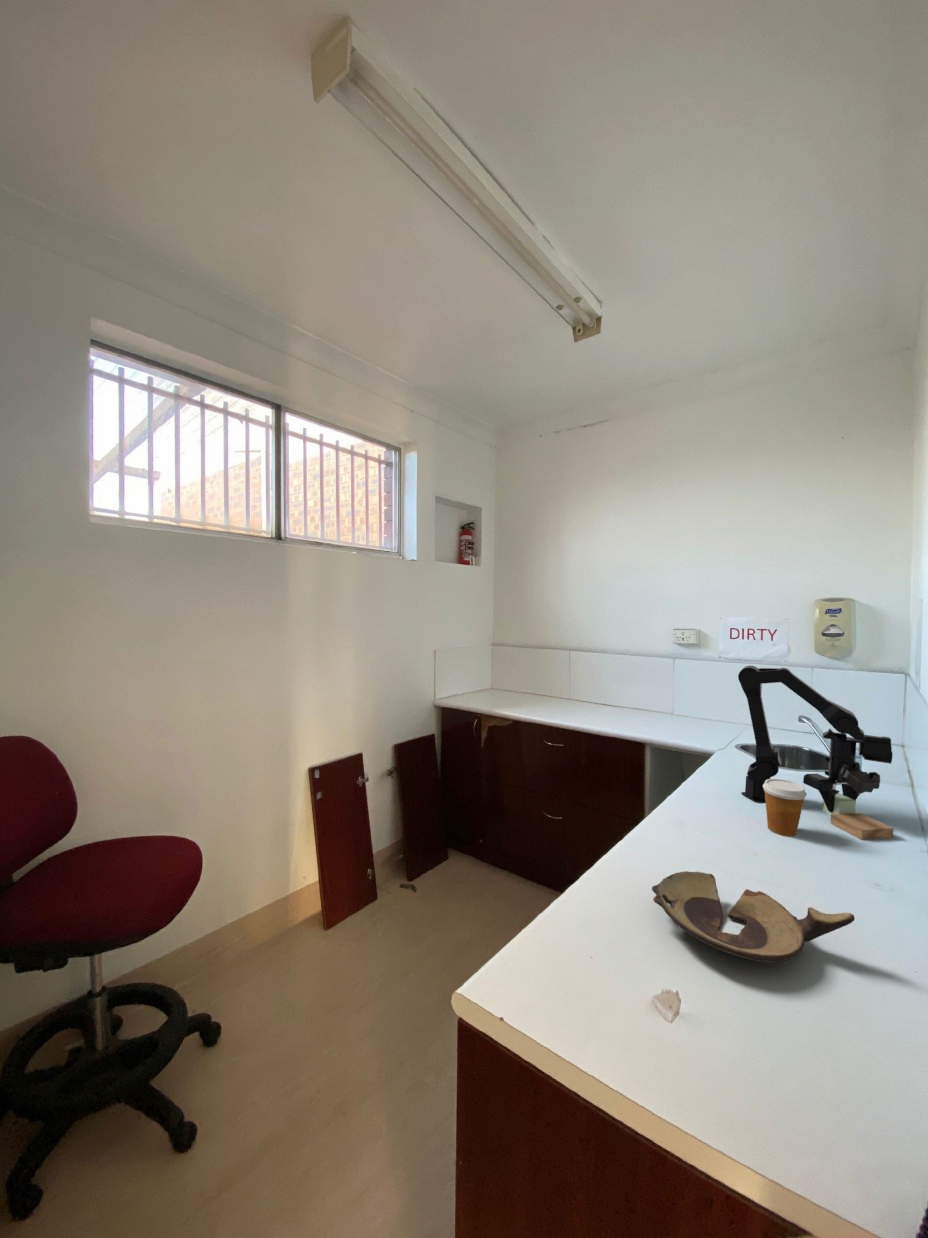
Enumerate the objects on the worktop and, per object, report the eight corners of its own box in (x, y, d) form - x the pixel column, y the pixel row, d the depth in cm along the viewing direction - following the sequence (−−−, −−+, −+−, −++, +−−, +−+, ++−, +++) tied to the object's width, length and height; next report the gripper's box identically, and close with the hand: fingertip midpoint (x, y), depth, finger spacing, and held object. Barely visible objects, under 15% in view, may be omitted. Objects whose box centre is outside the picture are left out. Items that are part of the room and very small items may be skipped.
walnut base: (861, 839, 126) (862, 830, 126) (830, 823, 135) (830, 814, 135) (892, 838, 127) (893, 828, 127) (860, 822, 136) (860, 813, 136)
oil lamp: (672, 881, 106) (673, 845, 106) (852, 945, 88) (855, 902, 87) (634, 936, 89) (636, 894, 88) (849, 1031, 70) (853, 977, 70)
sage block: (838, 819, 138) (839, 801, 137) (823, 811, 143) (824, 794, 142) (854, 818, 138) (856, 800, 138) (838, 811, 143) (839, 793, 143)
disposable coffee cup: (761, 833, 128) (764, 787, 128) (759, 819, 137) (762, 775, 136) (806, 843, 124) (809, 795, 123) (801, 827, 132) (804, 782, 132)
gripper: (838, 767, 130) (834, 826, 131) (900, 765, 133) (896, 823, 134) (803, 753, 141) (800, 808, 142) (861, 751, 144) (858, 805, 145)
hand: (839, 811), depth 140 cm, fingers closed on sage block, 5 cm apart
